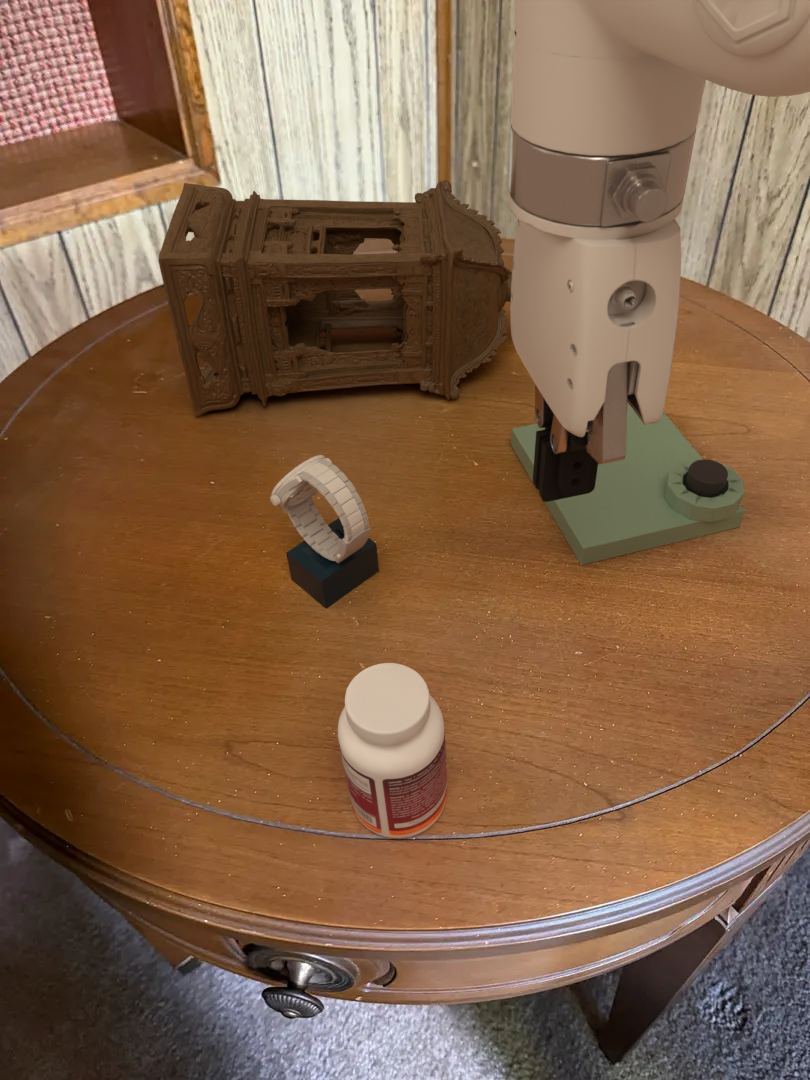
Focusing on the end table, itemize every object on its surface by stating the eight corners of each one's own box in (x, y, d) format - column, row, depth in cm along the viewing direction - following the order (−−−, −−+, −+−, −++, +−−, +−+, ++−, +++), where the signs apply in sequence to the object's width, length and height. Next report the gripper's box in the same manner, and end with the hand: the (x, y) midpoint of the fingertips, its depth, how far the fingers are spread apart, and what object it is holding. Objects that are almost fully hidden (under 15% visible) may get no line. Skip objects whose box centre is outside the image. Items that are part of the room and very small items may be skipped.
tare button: (731, 493, 68) (735, 479, 67) (697, 501, 67) (700, 487, 66) (711, 470, 70) (715, 455, 69) (678, 478, 69) (682, 463, 68)
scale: (748, 529, 69) (758, 497, 67) (583, 569, 67) (587, 538, 65) (654, 414, 81) (660, 383, 78) (510, 444, 78) (512, 414, 76)
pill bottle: (454, 759, 56) (452, 658, 48) (439, 849, 51) (435, 754, 44) (362, 746, 57) (346, 645, 49) (340, 833, 53) (318, 737, 45)
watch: (329, 532, 71) (312, 428, 64) (394, 582, 67) (385, 476, 59) (275, 567, 69) (252, 463, 61) (340, 621, 64) (323, 516, 57)
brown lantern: (527, 337, 96) (539, 164, 84) (553, 415, 82) (571, 218, 70) (216, 348, 95) (187, 175, 84) (188, 427, 81) (148, 232, 70)
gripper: (770, 228, 32) (682, 565, 45) (609, 101, 42) (575, 404, 55) (580, 260, 31) (546, 595, 44) (464, 121, 41) (464, 425, 54)
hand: (563, 488), depth 49 cm, fingers closed
